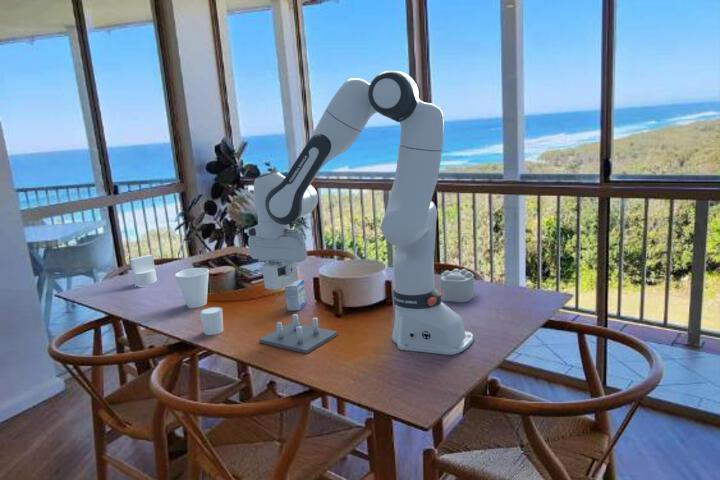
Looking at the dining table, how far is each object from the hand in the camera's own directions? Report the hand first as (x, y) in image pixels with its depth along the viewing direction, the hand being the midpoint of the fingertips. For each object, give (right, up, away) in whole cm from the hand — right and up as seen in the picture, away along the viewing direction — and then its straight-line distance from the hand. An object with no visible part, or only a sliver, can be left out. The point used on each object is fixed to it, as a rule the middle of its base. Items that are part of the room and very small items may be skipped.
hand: (280, 274), depth 154 cm
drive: (0, -3, +1) cm, 3 cm away
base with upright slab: (-68, -9, +69) cm, 97 cm away
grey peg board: (+6, -19, -2) cm, 19 cm away
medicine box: (+2, -13, +26) cm, 29 cm away
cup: (-36, -14, +36) cm, 53 cm away
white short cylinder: (-22, -19, +9) cm, 30 cm away
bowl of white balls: (+57, -9, +24) cm, 63 cm away
